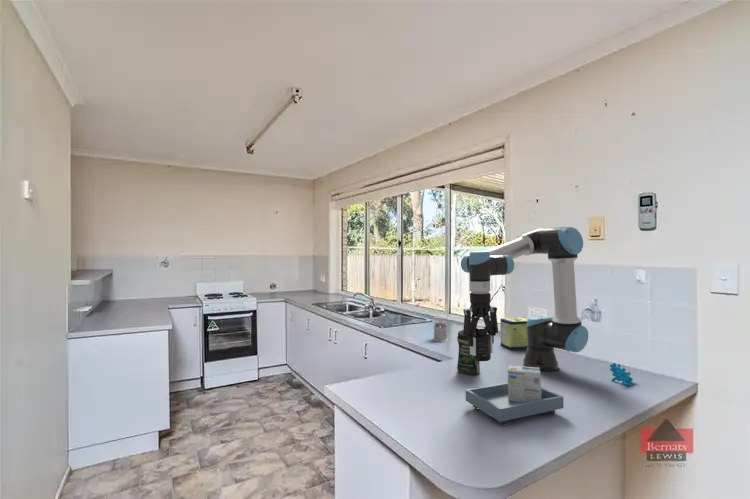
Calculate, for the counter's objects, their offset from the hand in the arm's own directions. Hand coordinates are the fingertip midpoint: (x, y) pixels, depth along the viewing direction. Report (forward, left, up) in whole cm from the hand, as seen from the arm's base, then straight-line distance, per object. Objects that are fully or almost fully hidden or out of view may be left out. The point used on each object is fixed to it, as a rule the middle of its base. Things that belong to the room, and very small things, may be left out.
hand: (481, 353), depth 145 cm
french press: (-86, +35, -16) cm, 94 cm away
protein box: (-53, +65, -17) cm, 85 cm away
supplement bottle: (0, 0, -2) cm, 2 cm away
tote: (+15, +2, -16) cm, 22 cm away
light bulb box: (+15, +7, -13) cm, 21 cm away
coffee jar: (-26, +13, -16) cm, 33 cm away
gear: (+11, +62, -17) cm, 65 cm away
